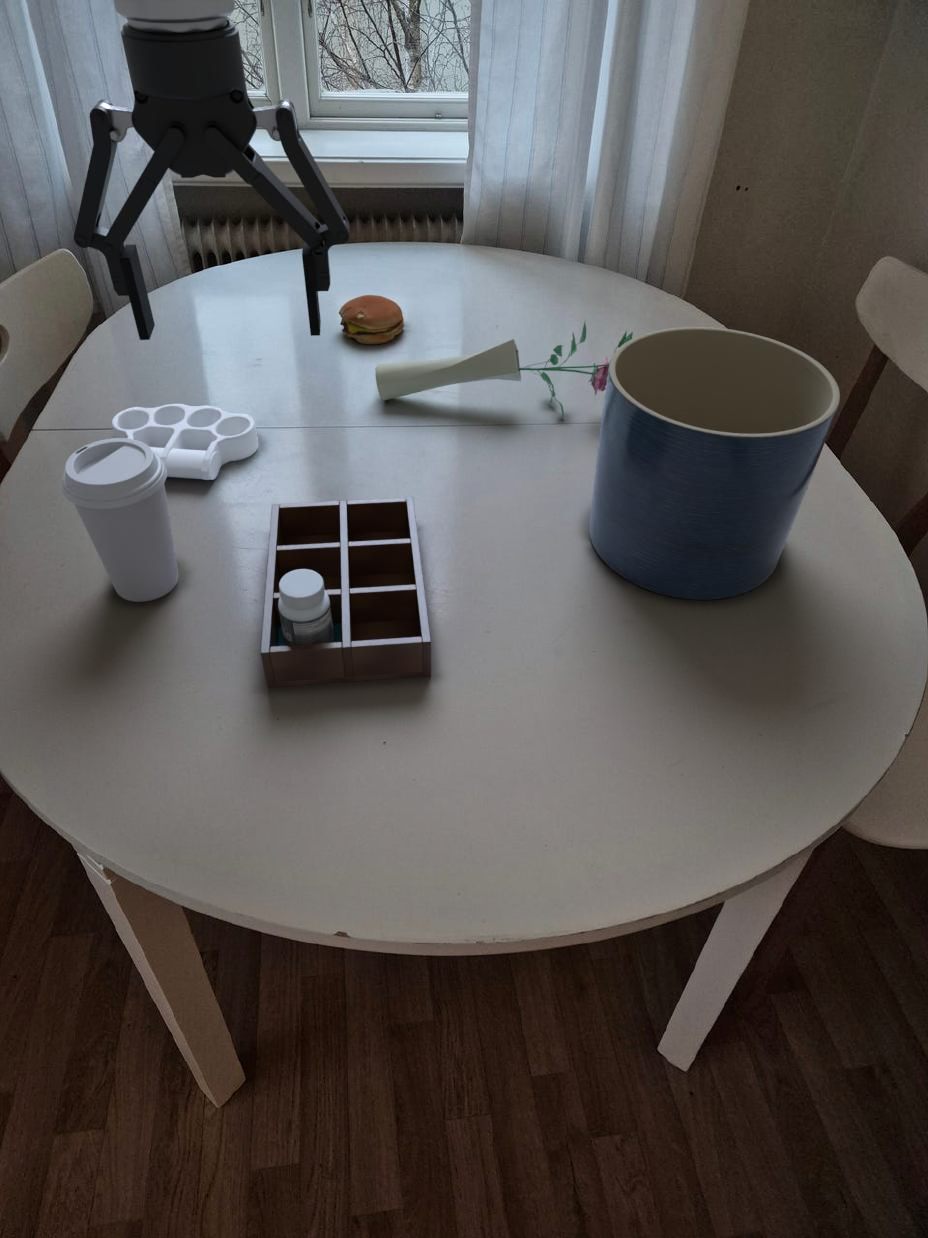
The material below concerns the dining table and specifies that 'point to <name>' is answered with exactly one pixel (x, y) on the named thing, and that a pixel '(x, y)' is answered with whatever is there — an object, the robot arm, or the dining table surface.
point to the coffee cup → (125, 514)
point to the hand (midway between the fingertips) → (232, 330)
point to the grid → (350, 591)
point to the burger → (371, 319)
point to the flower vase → (477, 370)
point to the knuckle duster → (190, 437)
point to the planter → (705, 458)
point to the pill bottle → (304, 608)
